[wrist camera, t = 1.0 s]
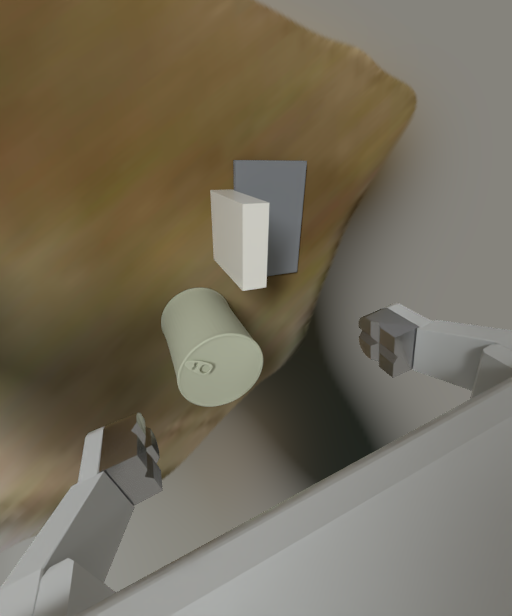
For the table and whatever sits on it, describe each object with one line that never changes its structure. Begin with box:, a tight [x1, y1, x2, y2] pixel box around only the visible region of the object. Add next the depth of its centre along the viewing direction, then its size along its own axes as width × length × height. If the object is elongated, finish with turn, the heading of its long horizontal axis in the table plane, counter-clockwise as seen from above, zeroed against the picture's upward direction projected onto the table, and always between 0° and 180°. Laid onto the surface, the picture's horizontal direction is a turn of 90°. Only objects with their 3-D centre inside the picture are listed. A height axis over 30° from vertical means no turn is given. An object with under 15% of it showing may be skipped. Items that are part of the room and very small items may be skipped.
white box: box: [210, 190, 269, 291], centre depth 31 cm, size 3×8×10 cm, turn 179°
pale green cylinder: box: [161, 288, 263, 407], centre depth 34 cm, size 9×9×12 cm
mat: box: [234, 160, 307, 276], centre depth 37 cm, size 9×14×1 cm, turn 179°
